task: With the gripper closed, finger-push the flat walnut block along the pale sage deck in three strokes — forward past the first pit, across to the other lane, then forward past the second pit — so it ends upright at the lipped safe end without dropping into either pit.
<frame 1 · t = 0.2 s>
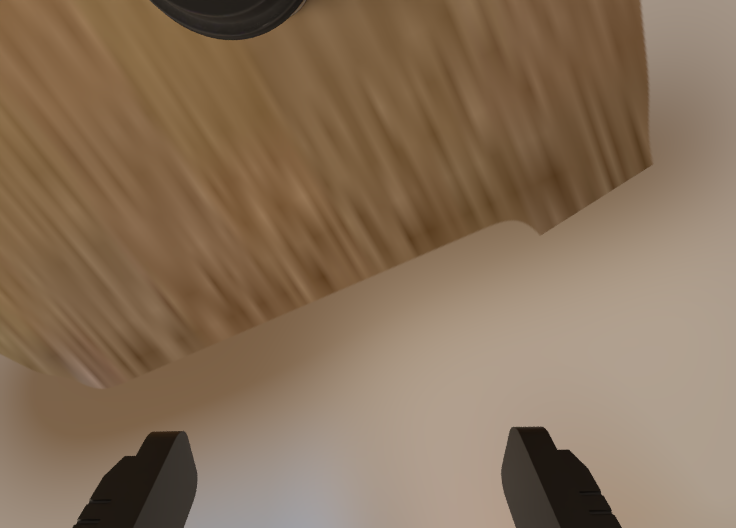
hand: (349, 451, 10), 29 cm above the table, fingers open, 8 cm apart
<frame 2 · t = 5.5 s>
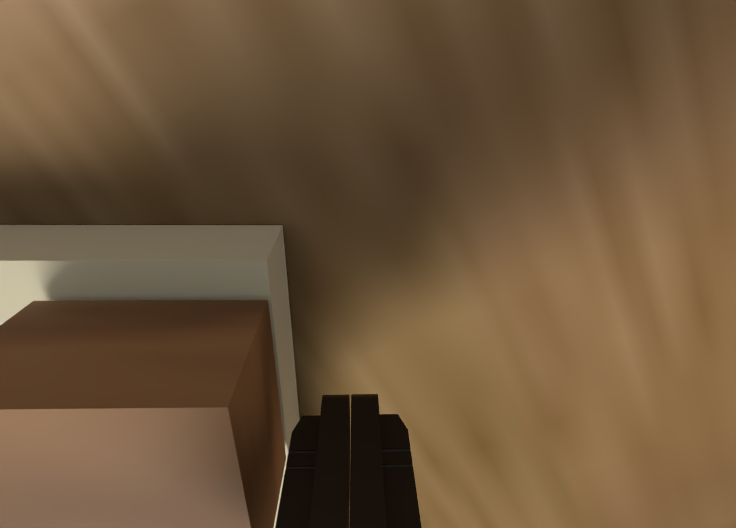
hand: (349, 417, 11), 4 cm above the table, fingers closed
walnut block: (178, 381, 12), point 2 cm above the table, touching gripper, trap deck
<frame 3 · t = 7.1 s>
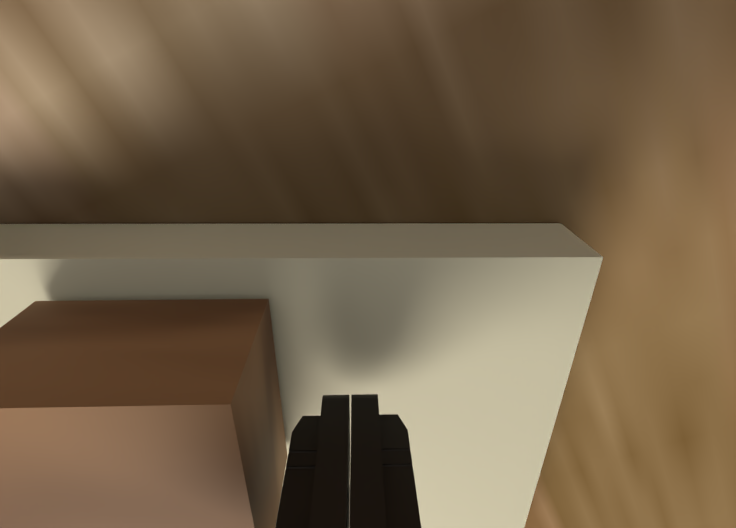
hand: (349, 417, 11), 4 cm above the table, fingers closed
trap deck: (141, 414, 16), on the table
walnut block: (180, 380, 12), point 3 cm above the table, touching gripper, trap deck
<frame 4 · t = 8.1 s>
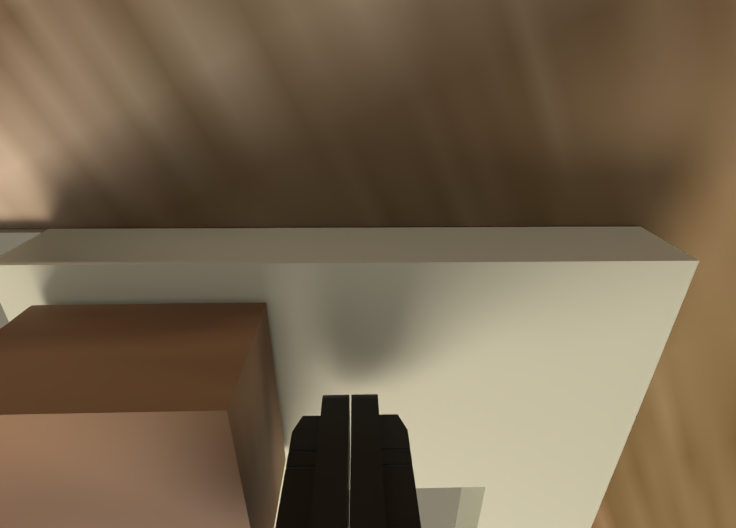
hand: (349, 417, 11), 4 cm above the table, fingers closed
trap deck: (207, 417, 16), on the table
walnut block: (177, 384, 12), point 2 cm above the table, touching gripper, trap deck
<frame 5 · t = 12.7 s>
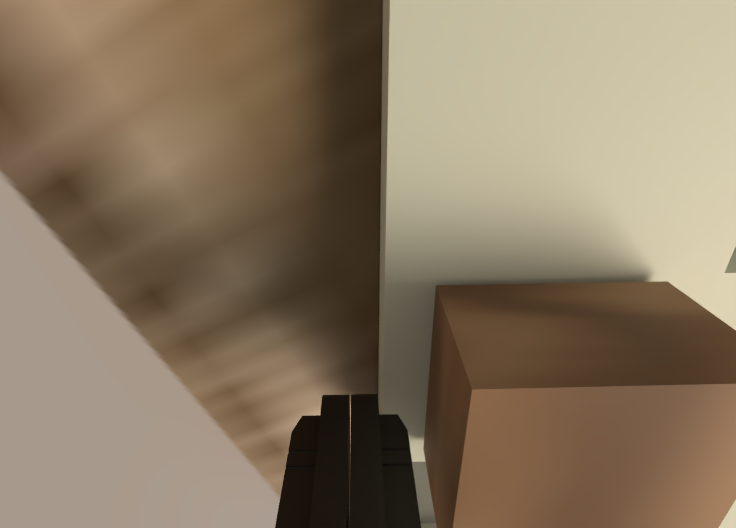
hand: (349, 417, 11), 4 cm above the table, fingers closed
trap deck: (602, 329, 15), on the table
walnut block: (528, 367, 12), point 2 cm above the table, touching gripper, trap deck
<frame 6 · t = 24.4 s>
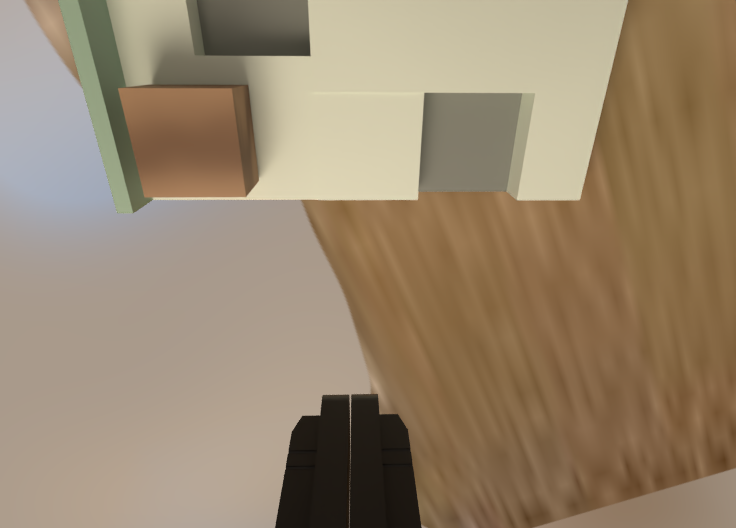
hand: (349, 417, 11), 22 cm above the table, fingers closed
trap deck: (367, 73, 28), on the table
walnut block: (208, 134, 27), point 2 cm above the table, touching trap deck
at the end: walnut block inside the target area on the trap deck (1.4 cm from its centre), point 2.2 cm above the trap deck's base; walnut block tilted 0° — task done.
